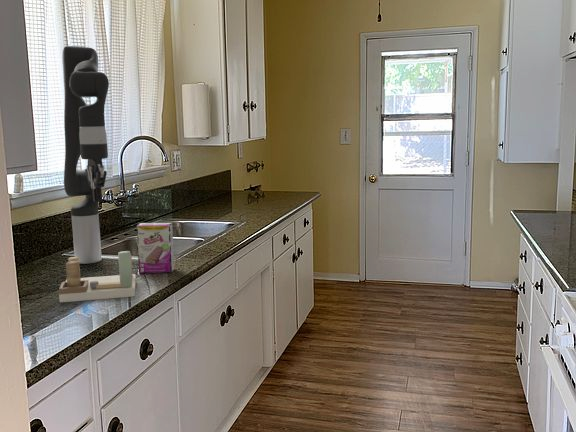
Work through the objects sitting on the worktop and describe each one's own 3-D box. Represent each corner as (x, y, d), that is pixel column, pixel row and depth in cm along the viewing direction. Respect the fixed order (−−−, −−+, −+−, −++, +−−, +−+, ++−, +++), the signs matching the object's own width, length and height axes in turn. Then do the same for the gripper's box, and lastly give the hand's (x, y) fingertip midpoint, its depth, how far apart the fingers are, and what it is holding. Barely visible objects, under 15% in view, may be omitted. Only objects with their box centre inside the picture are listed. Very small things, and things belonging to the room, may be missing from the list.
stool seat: (67, 286, 179) (64, 256, 178) (135, 281, 184) (134, 252, 182) (59, 302, 164) (56, 270, 162) (134, 296, 169) (132, 265, 167)
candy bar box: (138, 274, 192) (135, 225, 190) (141, 270, 197) (139, 222, 195) (172, 273, 193) (170, 224, 190) (174, 269, 198) (172, 222, 195)
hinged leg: (89, 289, 167) (86, 255, 165) (91, 286, 170) (88, 252, 168) (131, 286, 169) (129, 253, 167) (132, 283, 172) (130, 250, 170)
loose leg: (68, 288, 169) (66, 261, 168) (81, 287, 170) (79, 260, 168) (66, 291, 166) (64, 264, 164) (80, 290, 166) (78, 263, 165)
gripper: (114, 142, 165) (117, 202, 168) (99, 141, 176) (103, 197, 179) (87, 143, 161) (91, 205, 164) (73, 142, 172) (78, 200, 175)
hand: (97, 201), depth 171 cm, fingers closed
